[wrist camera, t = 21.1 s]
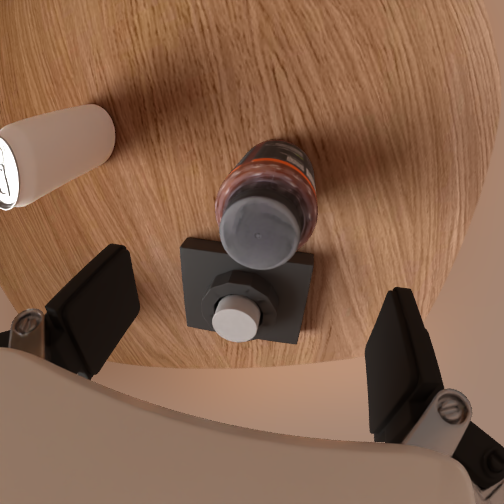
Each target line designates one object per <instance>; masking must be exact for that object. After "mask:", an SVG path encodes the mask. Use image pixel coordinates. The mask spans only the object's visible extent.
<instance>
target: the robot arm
mask: <svg viewBox="0 0 504 504" xmlns="http://www.w3.org/2000/svg"><path fill="white" fill-rule="evenodd" d="M45 308H46V310H47V313H46V314H45V315H44V314H43V312H42V311H41V310H39V309H28V310H25V311H23V312H21V313H20V314H18V315H17V316H16V317H15V319H14V320H13V322H12V325H11V330H9V331H5V332H2V333H0V504H504V448H503V446H501V445H500V444H499V443H498V442H496V441H495V440H494V439H493V438H491V437H490V436H489V435H488V434H486V433H485V432H484V431H483V430H481V429H480V428H479V427H478V426H476V425H475V424H474V423H472V422H471V421H470V420H471V417H472V407H471V404H470V402H469V400H468V399H467V397H466V396H465V395H464V394H462V393H461V392H459V391H457V390H454V389H444V386H443V382H442V378H441V374H440V370H439V367H438V363H437V360H436V356H435V353H434V349H433V346H432V343H431V340H430V337H429V333H428V332H427V330H426V329H425V328H424V324H423V321H422V318H421V315H420V313H419V310H418V307H417V304H416V301H415V298H414V296H413V293H412V291H411V289H408V288H400V287H395V288H394V289H393V291H391V290H389V291H388V293H387V295H386V298H385V300H384V303H383V306H382V308H381V311H380V313H379V316H378V318H377V321H376V323H375V326H374V328H373V330H372V333H371V335H370V337H369V340H368V342H367V344H366V348H365V360H366V373H367V386H368V403H369V426H370V433H372V434H374V441H375V442H355V441H341V440H329V439H319V438H309V437H300V436H292V435H285V434H278V433H272V432H265V431H259V430H254V429H249V428H243V427H239V426H234V425H229V424H225V423H220V422H216V421H212V420H208V419H204V418H200V417H196V416H192V415H188V414H185V413H181V412H177V411H174V410H171V409H168V408H164V407H161V406H158V405H155V404H152V403H149V402H146V401H143V400H140V399H137V398H134V397H131V396H129V395H126V394H123V393H120V392H118V391H115V390H113V389H110V388H107V387H105V386H103V385H100V384H98V383H95V382H93V381H91V378H92V377H93V375H96V374H97V373H98V372H99V371H100V369H101V368H102V366H103V365H104V363H105V362H106V360H107V359H108V357H109V356H110V354H111V353H112V351H113V350H114V348H115V347H116V345H117V344H118V342H119V341H120V339H121V338H122V337H123V335H124V334H125V332H126V331H127V329H128V328H129V326H130V325H131V324H132V322H133V321H134V319H135V318H136V316H137V315H138V313H139V310H140V303H139V299H138V294H137V289H136V284H135V279H134V274H133V269H132V263H131V257H130V253H129V251H128V250H127V249H126V247H125V246H123V245H118V244H109V245H108V246H107V247H106V248H105V249H104V250H102V251H101V252H100V253H99V254H98V255H97V256H96V257H95V258H94V259H93V260H91V261H90V262H89V263H88V264H87V265H86V266H85V267H84V268H83V269H82V270H81V271H80V272H79V273H78V274H77V275H76V276H75V277H74V278H72V279H71V280H70V281H69V282H68V283H67V284H66V285H65V286H64V287H63V288H62V289H61V290H60V291H59V292H58V293H57V294H56V295H55V296H54V297H53V298H52V299H51V300H50V301H49V303H48V304H47V305H46V306H45ZM77 373H78V375H77ZM376 442H385V443H376Z"/></svg>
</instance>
